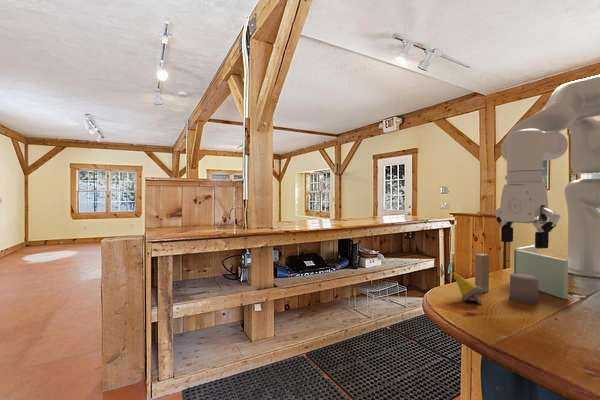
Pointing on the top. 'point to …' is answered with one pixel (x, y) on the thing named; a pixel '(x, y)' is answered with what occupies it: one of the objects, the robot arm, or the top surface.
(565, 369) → the top surface
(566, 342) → the top surface
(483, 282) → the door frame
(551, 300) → the top surface
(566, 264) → the door
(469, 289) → the drill bit
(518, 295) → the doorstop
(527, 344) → the top surface
